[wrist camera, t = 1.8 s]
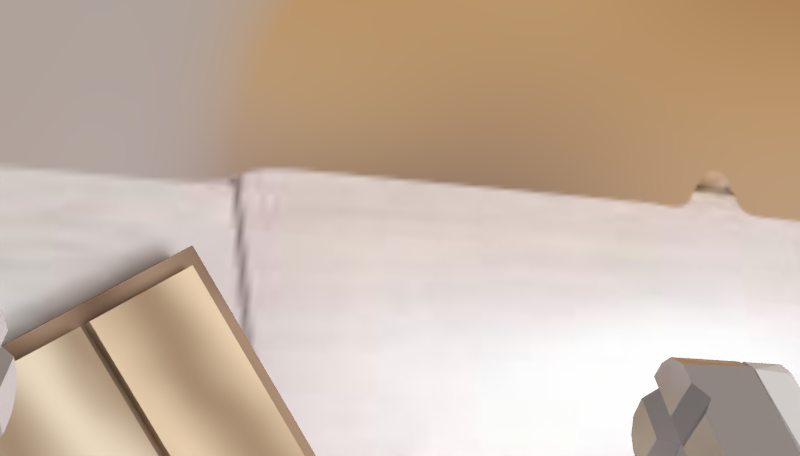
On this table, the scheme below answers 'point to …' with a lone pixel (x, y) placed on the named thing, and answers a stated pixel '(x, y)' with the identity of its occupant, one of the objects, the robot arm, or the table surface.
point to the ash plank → (70, 406)
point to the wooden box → (181, 364)
